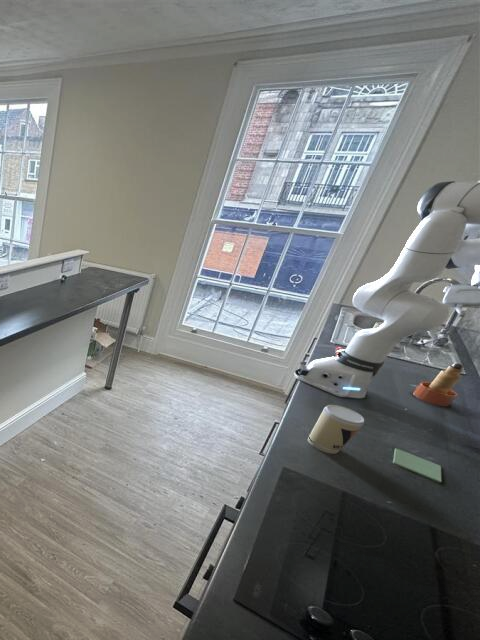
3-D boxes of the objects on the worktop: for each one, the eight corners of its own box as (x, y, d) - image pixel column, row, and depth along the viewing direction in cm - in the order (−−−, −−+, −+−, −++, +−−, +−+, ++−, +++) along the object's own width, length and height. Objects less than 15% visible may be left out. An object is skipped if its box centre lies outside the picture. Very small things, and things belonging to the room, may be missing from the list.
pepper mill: (421, 397, 152) (449, 363, 144) (421, 393, 155) (449, 359, 147) (440, 403, 148) (470, 368, 141) (440, 399, 152) (469, 364, 144)
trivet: (392, 463, 116) (394, 462, 116) (394, 449, 122) (395, 448, 122) (440, 483, 110) (441, 481, 110) (439, 466, 117) (440, 465, 116)
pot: (411, 398, 152) (420, 387, 149) (412, 389, 158) (420, 379, 155) (448, 410, 146) (458, 399, 143) (447, 401, 152) (457, 390, 150)
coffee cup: (332, 459, 116) (356, 426, 110) (298, 439, 123) (319, 407, 116) (347, 450, 120) (372, 418, 113) (313, 432, 127) (334, 401, 120)
